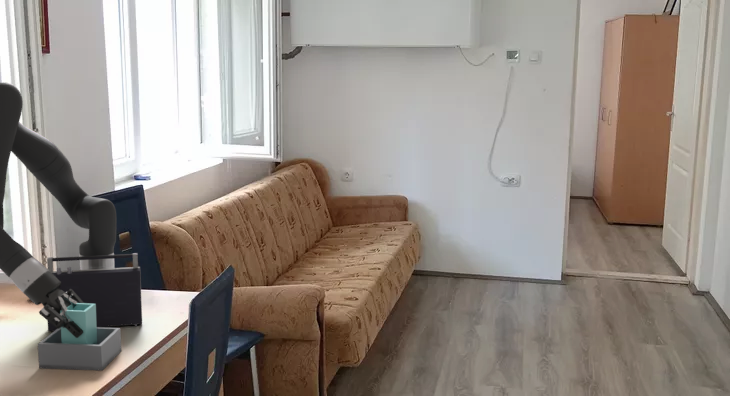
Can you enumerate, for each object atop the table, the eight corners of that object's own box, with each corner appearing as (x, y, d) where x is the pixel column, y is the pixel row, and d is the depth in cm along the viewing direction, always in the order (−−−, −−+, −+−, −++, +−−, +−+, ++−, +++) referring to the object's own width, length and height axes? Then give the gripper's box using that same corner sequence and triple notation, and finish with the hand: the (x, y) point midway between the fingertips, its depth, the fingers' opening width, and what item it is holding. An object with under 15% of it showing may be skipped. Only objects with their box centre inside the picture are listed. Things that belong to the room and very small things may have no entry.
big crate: (39, 368, 172) (37, 343, 171) (62, 348, 183) (60, 326, 182) (102, 370, 171) (101, 346, 170) (121, 350, 183) (120, 328, 182)
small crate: (62, 351, 174) (60, 310, 172) (73, 342, 180) (71, 302, 178) (86, 352, 173) (85, 311, 172) (97, 343, 179) (95, 303, 178)
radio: (142, 319, 205) (139, 250, 202) (142, 326, 200) (139, 255, 197) (48, 326, 199) (44, 255, 195) (45, 333, 194) (41, 260, 190)
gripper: (30, 278, 166) (84, 330, 168) (59, 262, 181) (108, 310, 182) (9, 300, 168) (62, 351, 169) (39, 282, 182) (88, 330, 183)
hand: (86, 330), depth 176 cm, fingers closed on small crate, 6 cm apart
